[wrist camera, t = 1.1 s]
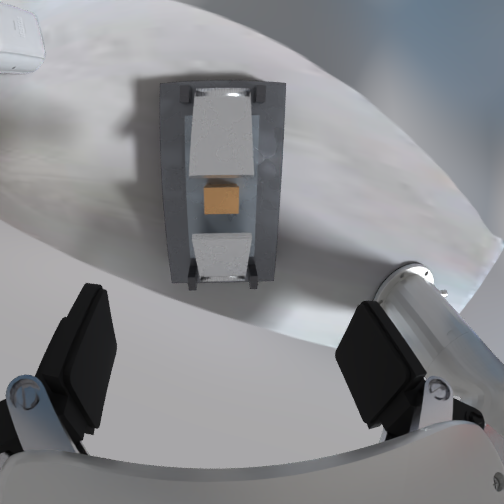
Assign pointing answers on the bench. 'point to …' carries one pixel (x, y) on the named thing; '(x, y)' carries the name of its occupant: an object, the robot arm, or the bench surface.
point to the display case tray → (221, 181)
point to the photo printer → (19, 41)
